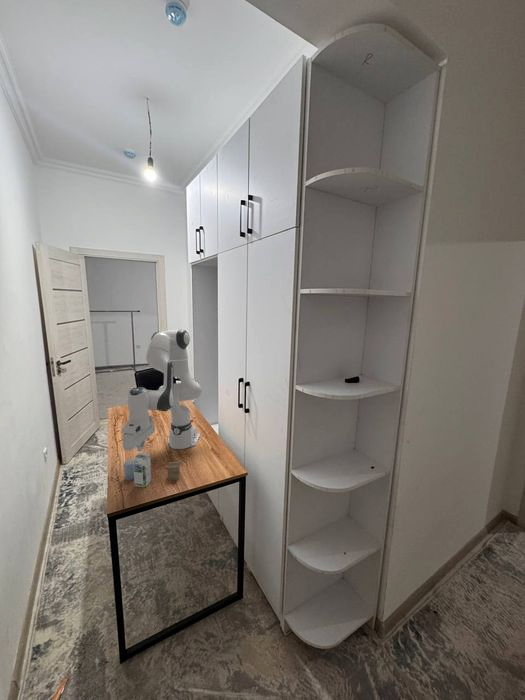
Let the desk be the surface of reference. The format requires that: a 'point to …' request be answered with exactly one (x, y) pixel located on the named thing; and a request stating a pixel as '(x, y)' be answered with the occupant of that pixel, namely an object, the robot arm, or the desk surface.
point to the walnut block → (173, 471)
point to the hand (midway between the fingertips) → (140, 449)
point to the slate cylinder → (129, 470)
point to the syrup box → (142, 469)
